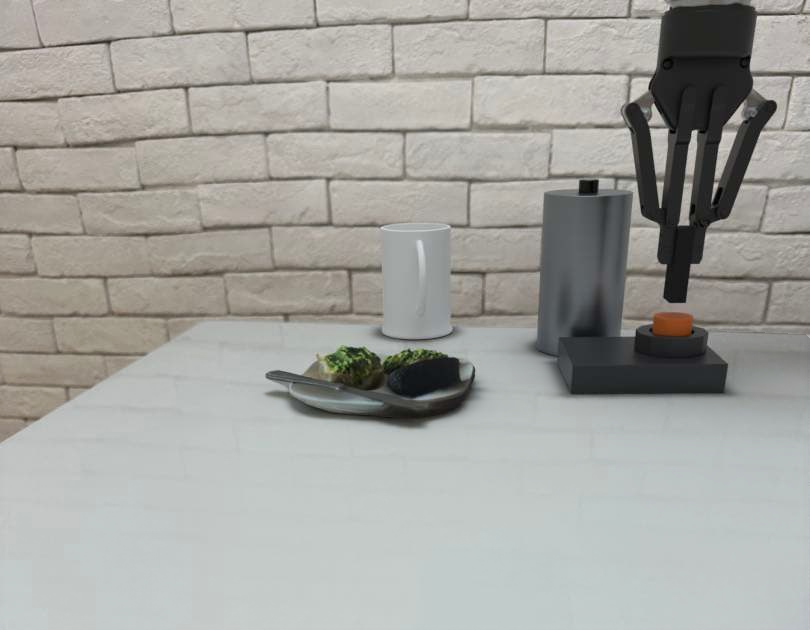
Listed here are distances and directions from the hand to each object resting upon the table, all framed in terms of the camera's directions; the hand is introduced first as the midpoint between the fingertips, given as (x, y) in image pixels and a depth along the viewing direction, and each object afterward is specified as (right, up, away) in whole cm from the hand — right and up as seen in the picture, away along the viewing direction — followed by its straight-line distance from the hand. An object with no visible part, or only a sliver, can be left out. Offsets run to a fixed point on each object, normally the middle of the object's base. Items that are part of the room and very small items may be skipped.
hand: (674, 300), depth 80 cm
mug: (-24, +2, +22) cm, 32 cm away
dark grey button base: (-3, -7, +3) cm, 8 cm away
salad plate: (-27, -9, 0) cm, 28 cm away
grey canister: (-6, -1, +14) cm, 16 cm away
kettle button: (0, -3, +1) cm, 3 cm away
